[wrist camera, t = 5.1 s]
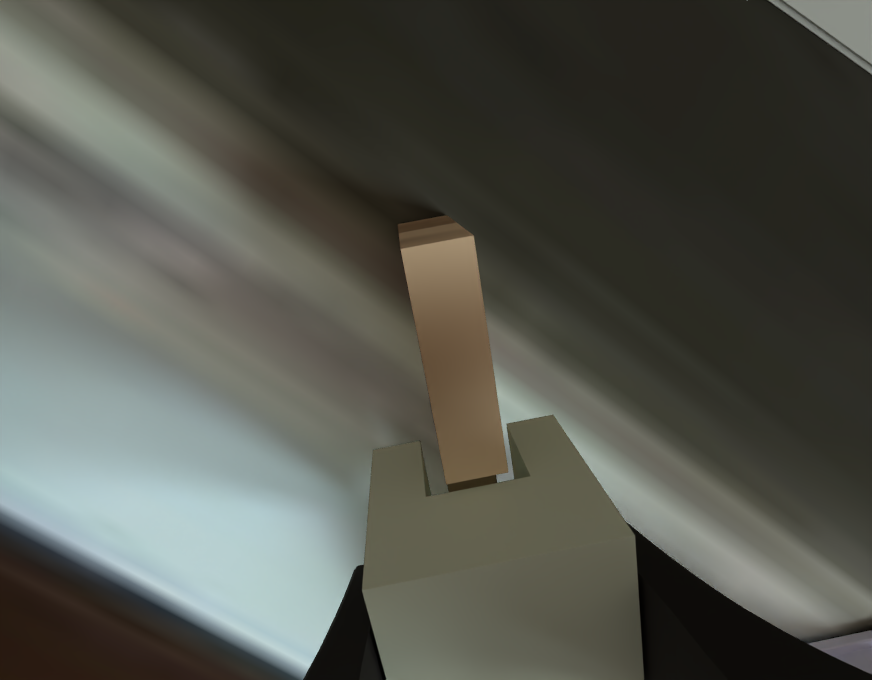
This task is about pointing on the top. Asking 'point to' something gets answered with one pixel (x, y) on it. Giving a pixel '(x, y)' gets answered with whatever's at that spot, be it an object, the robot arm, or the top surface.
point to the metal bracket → (836, 25)
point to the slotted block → (501, 569)
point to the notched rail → (454, 349)
